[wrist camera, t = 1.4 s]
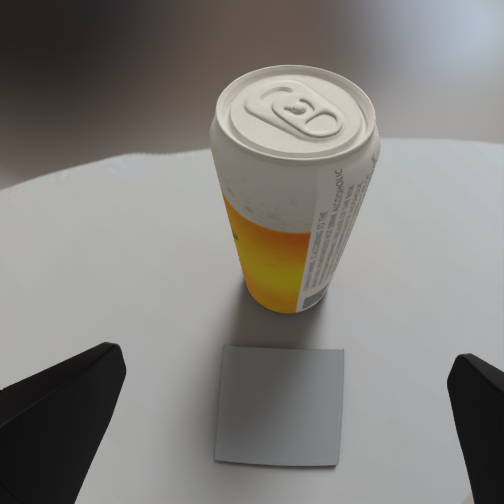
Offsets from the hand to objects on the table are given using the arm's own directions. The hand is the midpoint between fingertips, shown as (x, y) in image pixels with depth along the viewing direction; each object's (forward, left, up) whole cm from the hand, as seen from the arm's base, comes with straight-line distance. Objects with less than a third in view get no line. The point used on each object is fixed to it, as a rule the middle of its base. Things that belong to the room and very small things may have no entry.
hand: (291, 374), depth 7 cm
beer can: (+5, -6, -14) cm, 16 cm away
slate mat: (-1, +1, -14) cm, 14 cm away
